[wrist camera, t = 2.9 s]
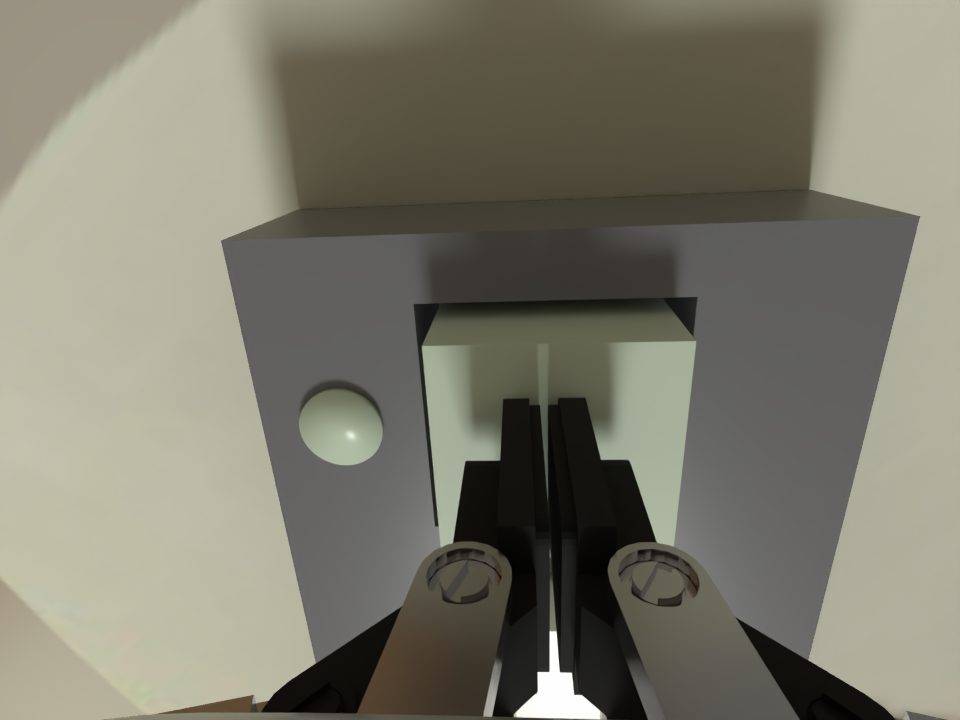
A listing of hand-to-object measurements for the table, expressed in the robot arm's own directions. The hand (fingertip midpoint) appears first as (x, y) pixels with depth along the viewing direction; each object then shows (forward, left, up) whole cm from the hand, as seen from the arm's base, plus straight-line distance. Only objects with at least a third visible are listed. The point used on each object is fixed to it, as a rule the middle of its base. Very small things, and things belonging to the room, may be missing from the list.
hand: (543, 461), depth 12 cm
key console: (0, +8, -6) cm, 10 cm away
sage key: (0, 0, -3) cm, 3 cm away
